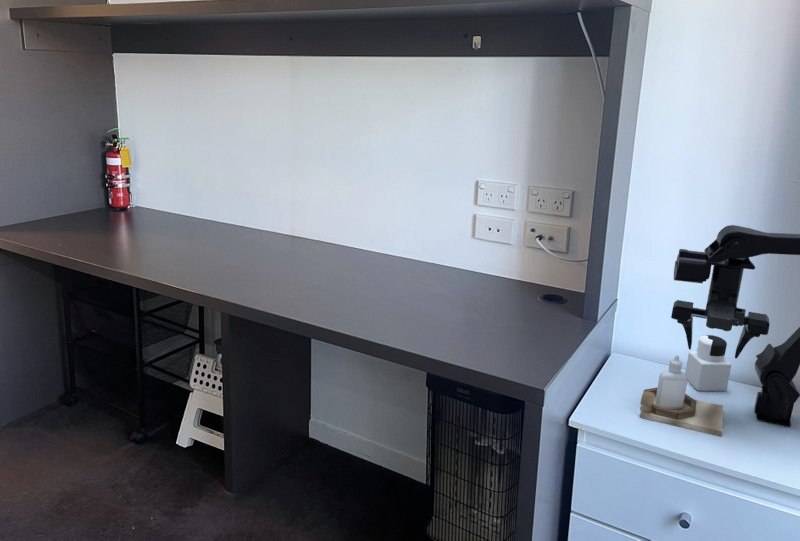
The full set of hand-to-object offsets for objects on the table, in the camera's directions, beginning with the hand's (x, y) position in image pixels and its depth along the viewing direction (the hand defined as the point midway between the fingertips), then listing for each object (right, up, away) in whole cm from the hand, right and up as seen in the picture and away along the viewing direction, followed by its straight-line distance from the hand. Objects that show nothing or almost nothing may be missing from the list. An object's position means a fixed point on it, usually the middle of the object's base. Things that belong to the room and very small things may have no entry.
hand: (712, 353), depth 145 cm
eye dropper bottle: (-9, -12, +1) cm, 15 cm away
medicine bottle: (+5, -9, +14) cm, 18 cm away
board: (-7, -13, 0) cm, 15 cm away
